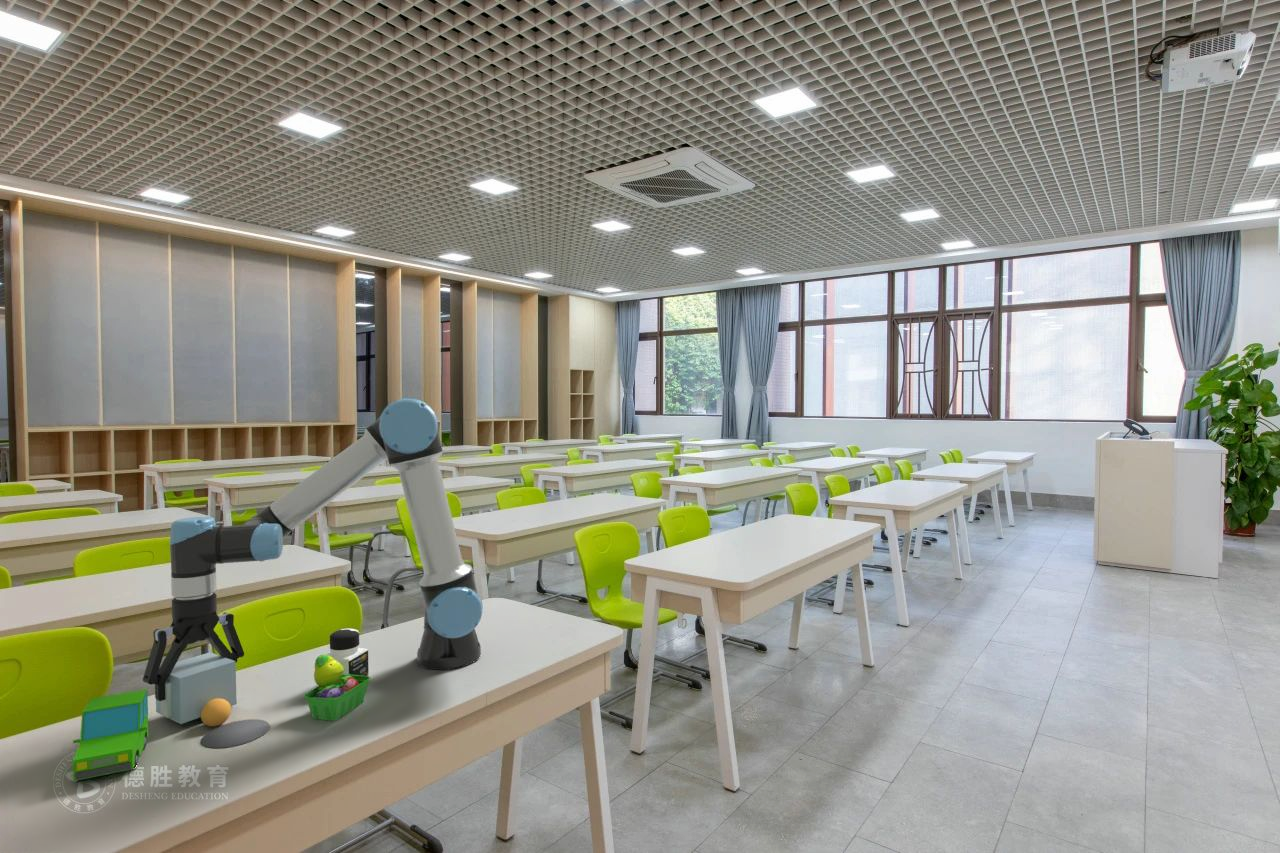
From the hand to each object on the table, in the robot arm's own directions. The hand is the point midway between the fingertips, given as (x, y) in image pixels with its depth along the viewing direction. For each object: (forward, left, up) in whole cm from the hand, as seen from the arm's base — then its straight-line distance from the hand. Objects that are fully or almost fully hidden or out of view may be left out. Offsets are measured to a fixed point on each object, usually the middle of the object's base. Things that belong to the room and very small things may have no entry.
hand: (197, 704), depth 134 cm
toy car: (-8, +17, -2) cm, 19 cm away
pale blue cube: (0, 0, -1) cm, 1 cm away
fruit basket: (-22, -16, -2) cm, 27 cm away
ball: (-8, 0, 0) cm, 8 cm away
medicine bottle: (-12, -25, -2) cm, 28 cm away
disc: (-15, 0, -2) cm, 15 cm away
